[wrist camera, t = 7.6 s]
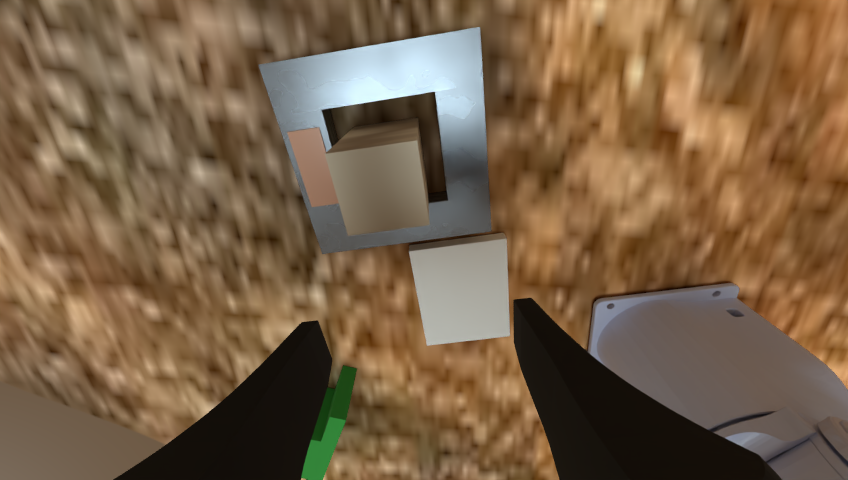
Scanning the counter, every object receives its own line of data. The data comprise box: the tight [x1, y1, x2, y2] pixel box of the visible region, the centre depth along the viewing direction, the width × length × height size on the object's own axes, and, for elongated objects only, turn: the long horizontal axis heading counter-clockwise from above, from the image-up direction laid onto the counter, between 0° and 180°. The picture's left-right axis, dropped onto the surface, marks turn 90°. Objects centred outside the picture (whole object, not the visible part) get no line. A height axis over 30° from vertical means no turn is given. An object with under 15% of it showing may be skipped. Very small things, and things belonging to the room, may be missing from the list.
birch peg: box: [325, 117, 430, 236], centre depth 16 cm, size 4×4×6 cm
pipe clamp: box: [301, 365, 357, 480], centre depth 27 cm, size 11×4×5 cm, turn 160°
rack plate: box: [259, 27, 491, 254], centre depth 18 cm, size 10×10×2 cm
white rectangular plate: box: [409, 233, 510, 345], centre depth 22 cm, size 6×8×1 cm
